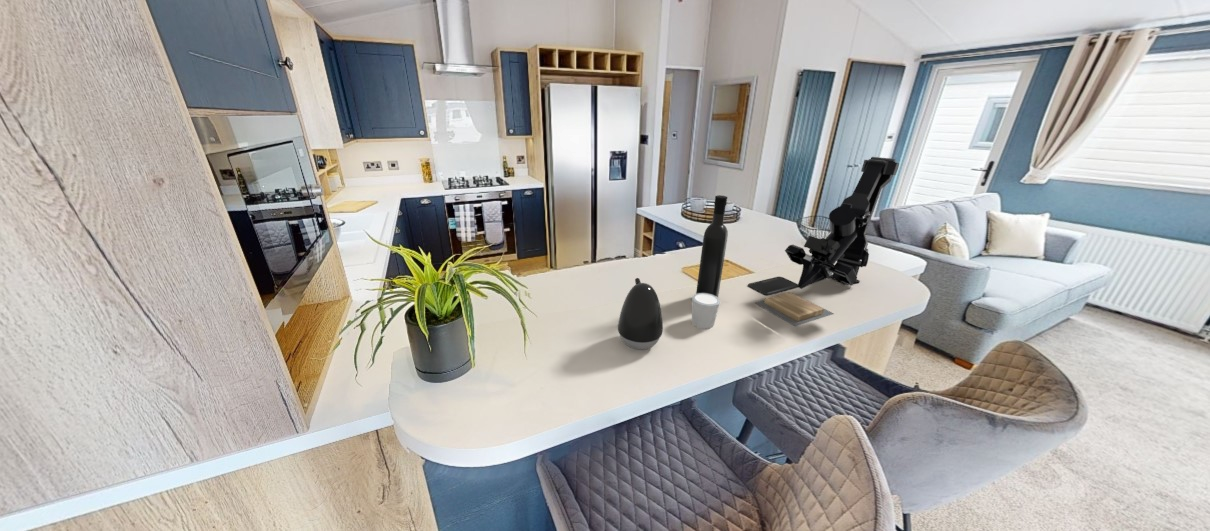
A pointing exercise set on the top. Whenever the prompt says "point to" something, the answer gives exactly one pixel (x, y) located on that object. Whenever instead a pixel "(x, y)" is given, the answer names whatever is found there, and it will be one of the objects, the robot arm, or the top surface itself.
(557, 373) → the top surface
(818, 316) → the charcoal mat
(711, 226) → the wine bottle
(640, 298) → the black egg shape
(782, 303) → the oak block
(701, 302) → the white short tapered cylinder
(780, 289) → the phone
